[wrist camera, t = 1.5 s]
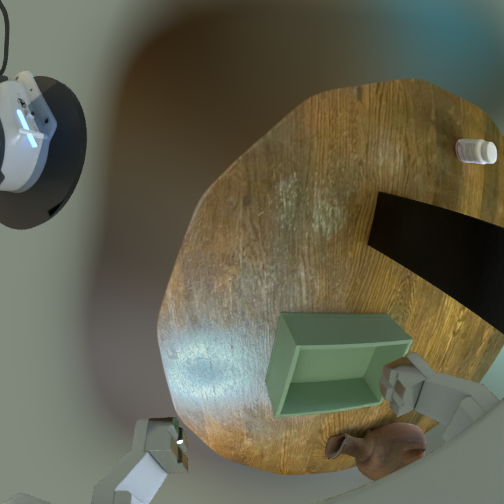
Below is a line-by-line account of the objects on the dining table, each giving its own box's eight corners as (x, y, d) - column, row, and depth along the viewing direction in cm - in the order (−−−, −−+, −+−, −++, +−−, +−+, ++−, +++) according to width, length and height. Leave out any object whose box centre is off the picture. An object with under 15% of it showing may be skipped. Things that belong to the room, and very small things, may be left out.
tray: (265, 381, 50) (274, 417, 41) (280, 311, 46) (296, 345, 37) (361, 375, 54) (380, 404, 45) (386, 313, 49) (413, 339, 40)
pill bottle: (461, 166, 43) (492, 171, 35) (451, 148, 41) (482, 150, 33) (470, 152, 42) (500, 155, 34) (460, 133, 40) (491, 134, 33)
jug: (417, 413, 65) (344, 398, 63) (450, 445, 46) (375, 442, 43) (381, 461, 65) (306, 453, 63) (406, 497, 46) (323, 500, 44)
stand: (367, 244, 44) (549, 371, 10) (378, 191, 42) (591, 266, 8) (406, 250, 46) (568, 353, 12) (417, 201, 43) (599, 271, 9)
